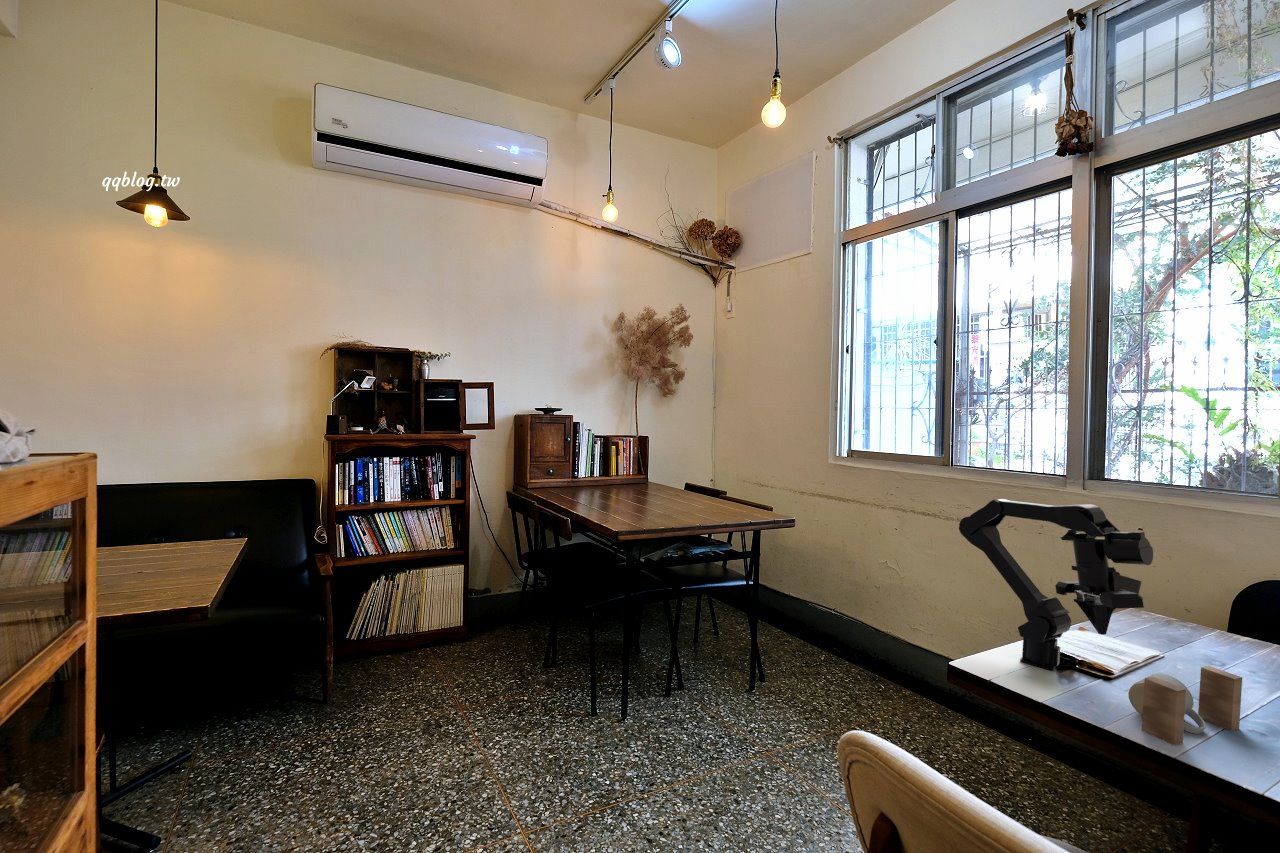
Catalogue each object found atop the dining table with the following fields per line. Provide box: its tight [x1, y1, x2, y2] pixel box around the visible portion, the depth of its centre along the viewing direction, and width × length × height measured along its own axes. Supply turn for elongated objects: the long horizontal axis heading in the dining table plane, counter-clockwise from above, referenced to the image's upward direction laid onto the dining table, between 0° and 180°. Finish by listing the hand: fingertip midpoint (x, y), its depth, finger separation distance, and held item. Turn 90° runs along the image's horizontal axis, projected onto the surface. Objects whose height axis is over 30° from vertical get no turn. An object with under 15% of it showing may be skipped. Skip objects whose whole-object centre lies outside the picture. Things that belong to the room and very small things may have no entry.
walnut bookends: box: [1141, 665, 1243, 746], centre depth 106 cm, size 5×20×10 cm, turn 109°
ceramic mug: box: [1128, 672, 1207, 735], centre depth 109 cm, size 11×8×8 cm
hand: (1102, 634), depth 123 cm, fingers closed
